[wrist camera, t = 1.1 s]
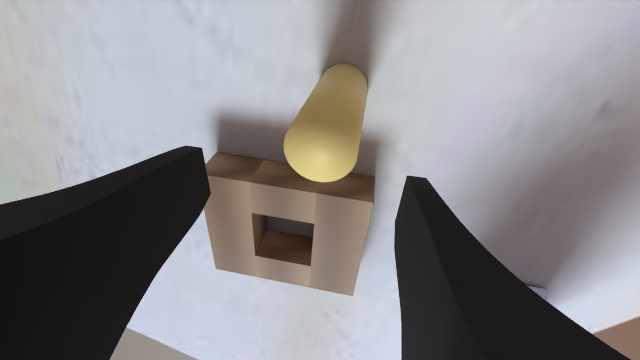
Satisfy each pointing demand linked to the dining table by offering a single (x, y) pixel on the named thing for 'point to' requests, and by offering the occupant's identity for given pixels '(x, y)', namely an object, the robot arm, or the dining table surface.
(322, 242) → the socket
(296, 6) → the dining table surface
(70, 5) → the dining table surface
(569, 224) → the dining table surface
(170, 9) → the dining table surface
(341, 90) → the dowel
